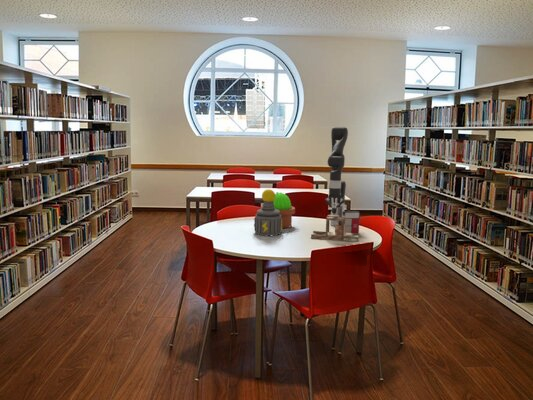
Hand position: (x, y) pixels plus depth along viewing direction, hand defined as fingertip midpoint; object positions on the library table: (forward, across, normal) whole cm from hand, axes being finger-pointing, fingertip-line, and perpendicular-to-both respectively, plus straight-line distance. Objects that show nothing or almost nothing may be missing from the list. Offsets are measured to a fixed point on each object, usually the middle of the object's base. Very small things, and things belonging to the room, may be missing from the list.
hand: (334, 213), depth 312 cm
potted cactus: (+16, +41, -28) cm, 53 cm away
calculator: (+16, -10, -18) cm, 26 cm away
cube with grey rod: (+14, -4, 0) cm, 15 cm away
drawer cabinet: (+16, -1, 0) cm, 16 cm away
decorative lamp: (+16, +44, -1) cm, 47 cm away
